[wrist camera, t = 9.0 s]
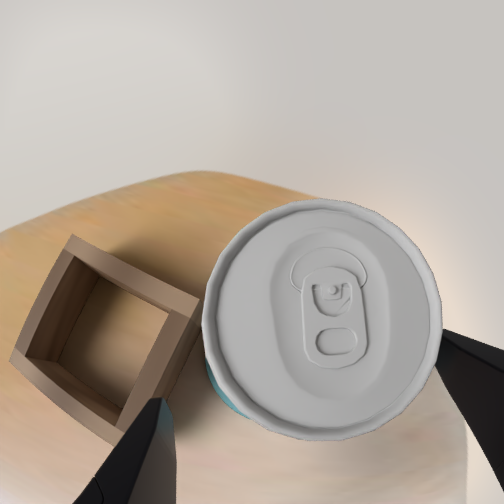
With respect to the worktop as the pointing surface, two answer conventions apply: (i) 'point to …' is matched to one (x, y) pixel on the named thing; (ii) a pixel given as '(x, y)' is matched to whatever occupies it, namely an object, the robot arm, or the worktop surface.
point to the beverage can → (321, 320)
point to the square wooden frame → (64, 317)
